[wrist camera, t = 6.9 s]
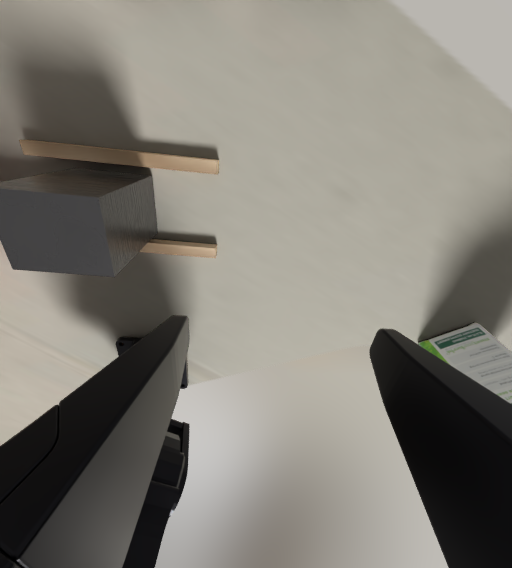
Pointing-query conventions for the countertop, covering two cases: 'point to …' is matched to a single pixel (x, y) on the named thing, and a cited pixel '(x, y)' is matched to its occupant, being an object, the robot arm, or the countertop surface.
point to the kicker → (76, 221)
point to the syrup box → (476, 357)
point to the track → (134, 160)
